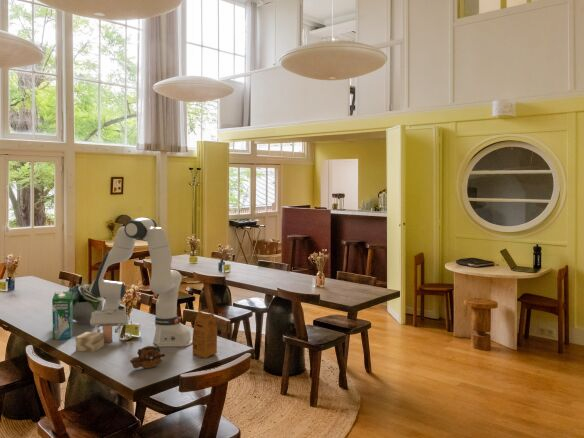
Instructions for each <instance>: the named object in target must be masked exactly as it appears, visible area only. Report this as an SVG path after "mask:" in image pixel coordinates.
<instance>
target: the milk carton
mask: <svg viewBox="0 0 584 438" xmlns="http://www.w3.org/2000/svg"><path fill="white" fill-rule="evenodd" d="M51 303H52V305H51V308H52V309H51V310H52V312H51V313H52V340H66V339H67V340H69V339H71V338H72V337H73V335H74V323H73V322H74V320H73V305H72V291H71V292H67V291H55V292H54V295H53V297H52V302H51Z"/></svg>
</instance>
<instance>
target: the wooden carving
mask: <svg viewBox="0 0 584 438" xmlns="http://www.w3.org/2000/svg"><path fill="white" fill-rule="evenodd" d="M137 355H138V356H136V357H133V358H131V359H130V360H129V361H130V362H129V363H130V364H132V367H133V368H134V369H139V368H143V369H150V368H153V367H156V366H158V365H160V364H161V363H163V359H162V358H164V357H166V354H165V353H161V349H160V346H153V345H148V346H147V345H146V346H144V347H142V348H138V349H137Z"/></svg>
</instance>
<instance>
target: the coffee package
mask: <svg viewBox="0 0 584 438" xmlns="http://www.w3.org/2000/svg"><path fill="white" fill-rule="evenodd" d="M214 317H215V315H214V314H213V313H203V312H202V311H201V310H198V311H197V314H196V317H195V321H194V324H193V328H192V329H193V331H192V337H193V338H192V344H191V345H192V355H196V356H197V357H199V358H204V359H207V358H209V357H211V356H213V355H216V354H217V353H218V350H217V348H218V326H217V323H216V322H215V320H214Z"/></svg>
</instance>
